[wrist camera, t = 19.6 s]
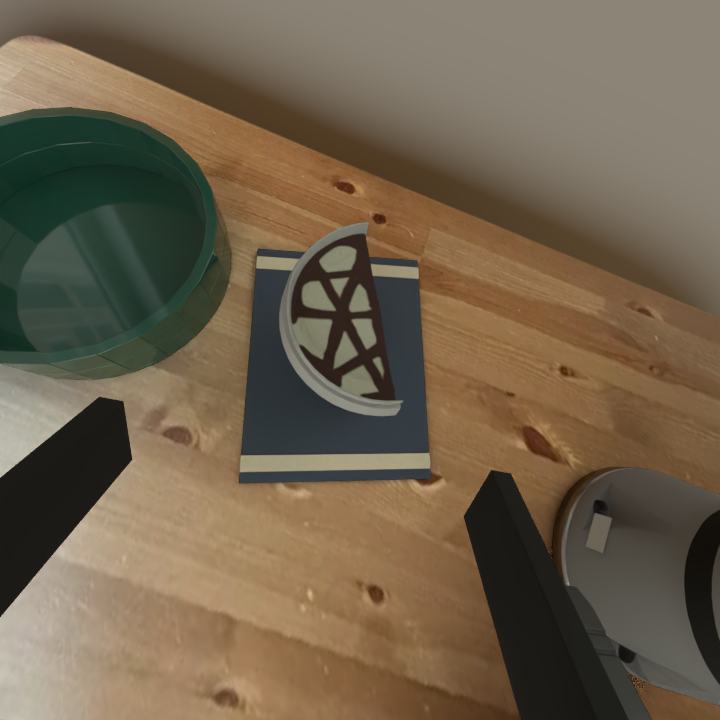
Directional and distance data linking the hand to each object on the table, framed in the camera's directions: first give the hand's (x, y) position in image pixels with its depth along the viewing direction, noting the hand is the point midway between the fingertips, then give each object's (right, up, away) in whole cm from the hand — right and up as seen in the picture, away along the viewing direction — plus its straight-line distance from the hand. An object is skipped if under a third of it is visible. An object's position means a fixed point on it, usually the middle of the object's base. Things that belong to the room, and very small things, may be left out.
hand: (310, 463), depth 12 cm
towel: (0, +4, +17) cm, 17 cm away
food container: (-1, +4, +16) cm, 17 cm away
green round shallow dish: (-20, +12, +16) cm, 28 cm away
